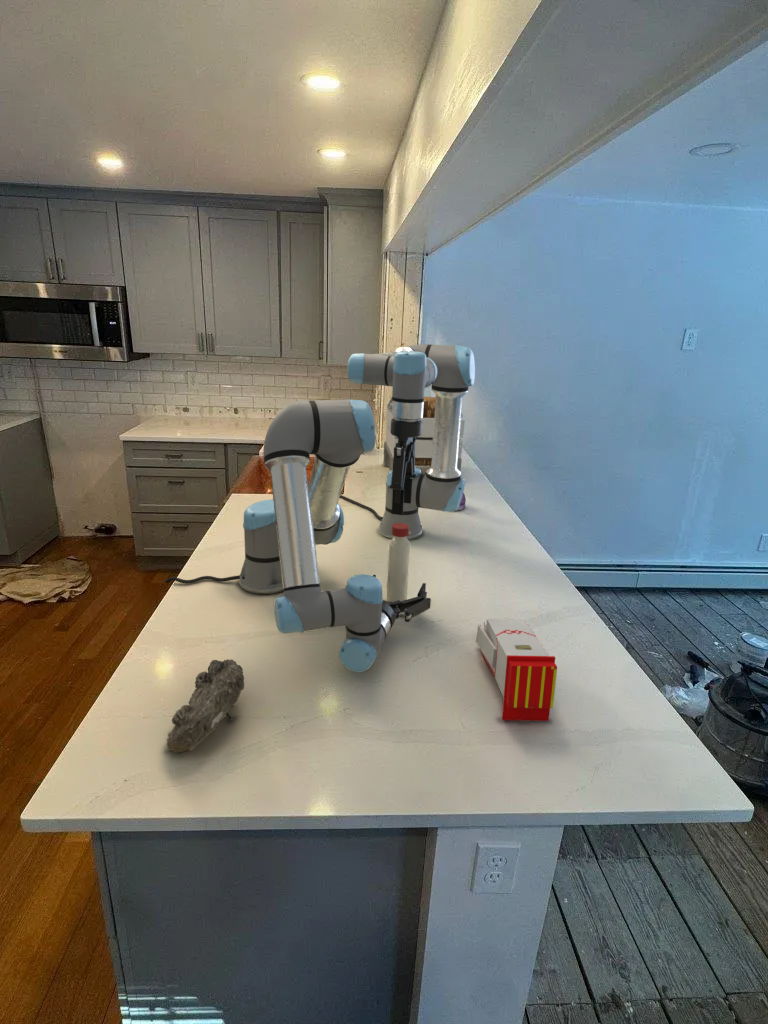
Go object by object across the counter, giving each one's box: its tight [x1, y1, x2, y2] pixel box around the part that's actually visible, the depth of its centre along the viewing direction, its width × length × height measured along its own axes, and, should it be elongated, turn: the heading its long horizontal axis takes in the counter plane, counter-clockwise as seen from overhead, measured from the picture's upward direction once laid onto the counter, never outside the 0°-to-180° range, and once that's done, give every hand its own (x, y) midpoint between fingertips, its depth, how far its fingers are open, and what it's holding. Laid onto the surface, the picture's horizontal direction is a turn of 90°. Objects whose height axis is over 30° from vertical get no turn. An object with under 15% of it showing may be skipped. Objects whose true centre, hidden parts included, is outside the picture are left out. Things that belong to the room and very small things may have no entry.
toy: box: [475, 618, 558, 722], centre depth 122 cm, size 12×13×30 cm
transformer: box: [383, 396, 465, 472], centre depth 268 cm, size 34×33×41 cm
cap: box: [392, 523, 409, 537], centre depth 145 cm, size 4×4×2 cm
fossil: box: [166, 658, 245, 754], centre depth 106 cm, size 22×10×15 cm
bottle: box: [385, 536, 411, 602], centre depth 148 cm, size 6×6×22 cm
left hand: (399, 583), depth 150 cm, fingers open, 13 cm apart
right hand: (401, 508), depth 143 cm, fingers open, 9 cm apart
